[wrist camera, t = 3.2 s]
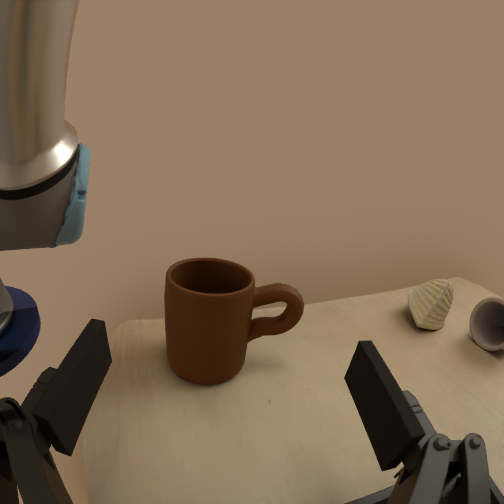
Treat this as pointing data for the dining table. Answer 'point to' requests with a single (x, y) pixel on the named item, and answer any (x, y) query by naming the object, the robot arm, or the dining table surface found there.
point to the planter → (488, 324)
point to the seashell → (431, 303)
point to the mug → (219, 317)
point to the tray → (379, 499)
